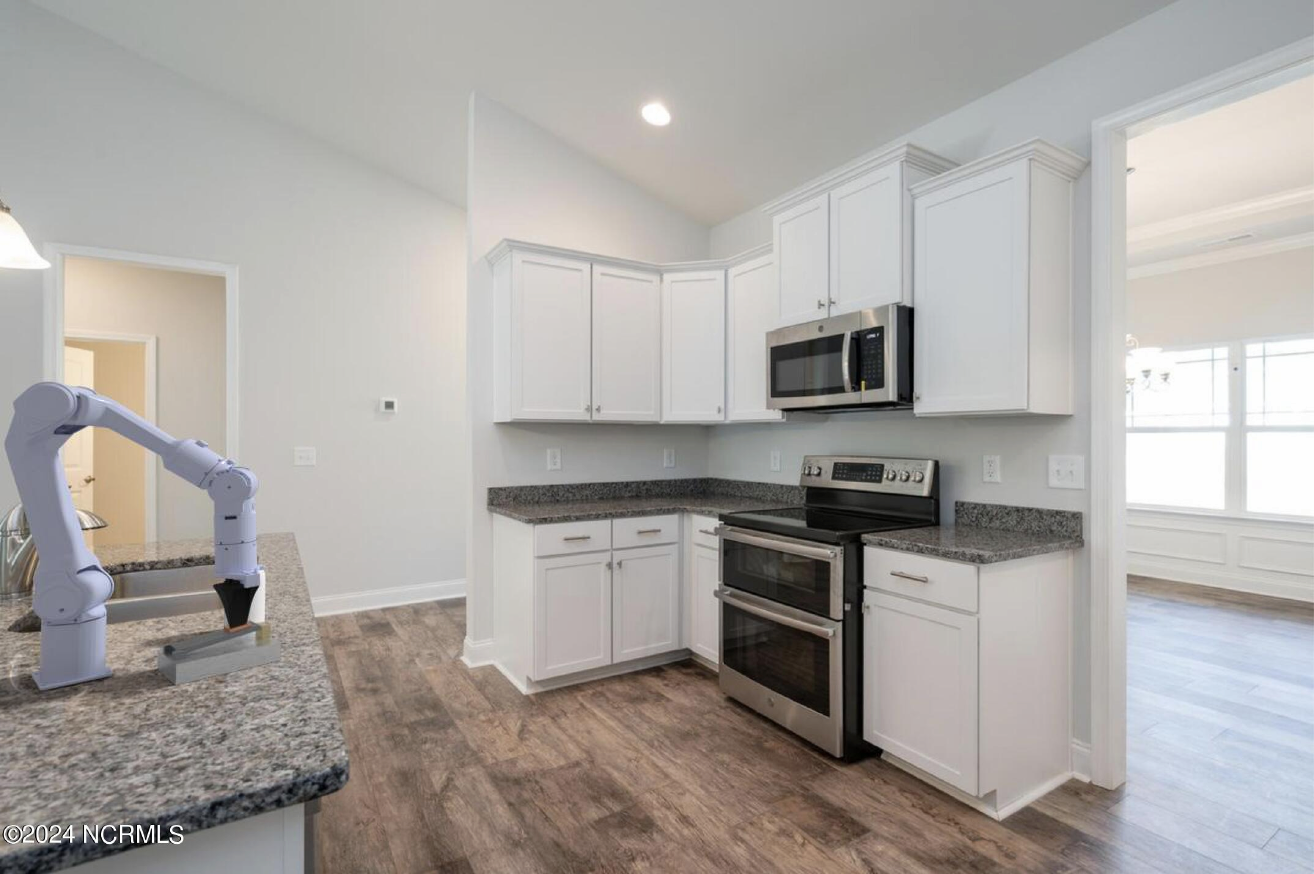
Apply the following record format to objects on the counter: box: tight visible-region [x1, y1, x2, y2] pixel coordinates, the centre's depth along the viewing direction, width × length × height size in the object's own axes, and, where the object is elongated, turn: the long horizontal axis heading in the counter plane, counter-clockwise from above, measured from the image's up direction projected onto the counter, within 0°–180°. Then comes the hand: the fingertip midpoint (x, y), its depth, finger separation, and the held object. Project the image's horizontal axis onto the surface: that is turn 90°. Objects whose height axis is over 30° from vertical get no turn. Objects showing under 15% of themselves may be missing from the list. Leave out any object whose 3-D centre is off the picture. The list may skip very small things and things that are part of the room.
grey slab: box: [170, 621, 260, 653], centre depth 100 cm, size 4×11×1 cm, turn 141°
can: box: [223, 563, 266, 627], centre depth 118 cm, size 6×6×12 cm
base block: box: [156, 621, 282, 686], centre depth 100 cm, size 10×14×5 cm
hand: (237, 625), depth 102 cm, fingers closed, pressing on grey slab
